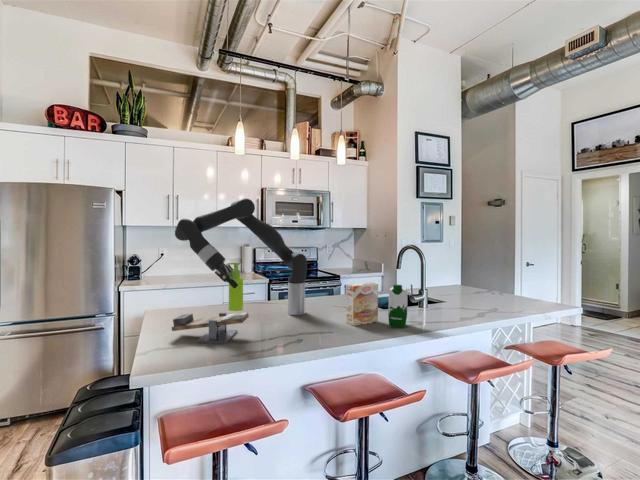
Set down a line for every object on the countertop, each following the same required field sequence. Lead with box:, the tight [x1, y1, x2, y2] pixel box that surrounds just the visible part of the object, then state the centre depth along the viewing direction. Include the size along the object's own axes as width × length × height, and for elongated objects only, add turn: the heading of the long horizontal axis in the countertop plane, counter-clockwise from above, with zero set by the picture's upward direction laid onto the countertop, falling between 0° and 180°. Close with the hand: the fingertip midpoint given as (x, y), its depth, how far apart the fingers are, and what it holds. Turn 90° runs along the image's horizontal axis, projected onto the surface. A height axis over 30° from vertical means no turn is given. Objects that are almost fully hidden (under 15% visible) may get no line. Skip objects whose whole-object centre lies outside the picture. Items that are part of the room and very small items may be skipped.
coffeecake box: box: [345, 281, 379, 327], centre depth 173 cm, size 15×7×20 cm, turn 117°
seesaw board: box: [171, 311, 250, 332], centre depth 148 cm, size 30×10×5 cm, turn 86°
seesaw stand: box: [196, 312, 238, 345], centre depth 148 cm, size 12×16×9 cm
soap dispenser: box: [225, 262, 244, 312], centre depth 147 cm, size 6×7×20 cm
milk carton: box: [387, 284, 408, 329], centre depth 168 cm, size 9×9×20 cm
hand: (238, 285), depth 147 cm, fingers closed on soap dispenser, 6 cm apart
